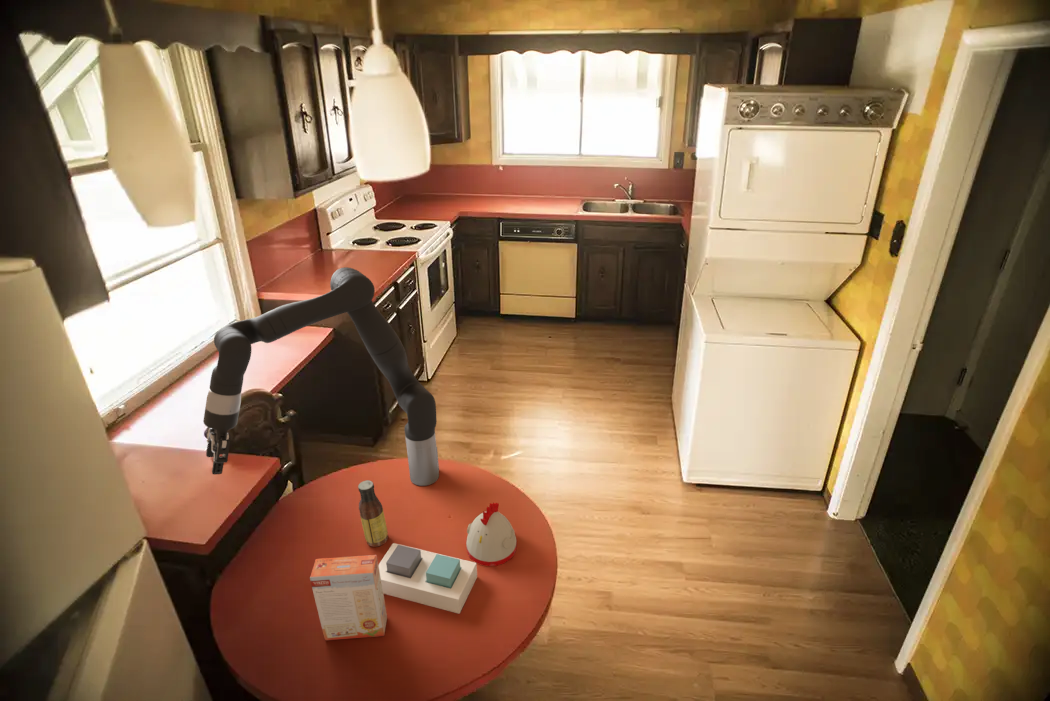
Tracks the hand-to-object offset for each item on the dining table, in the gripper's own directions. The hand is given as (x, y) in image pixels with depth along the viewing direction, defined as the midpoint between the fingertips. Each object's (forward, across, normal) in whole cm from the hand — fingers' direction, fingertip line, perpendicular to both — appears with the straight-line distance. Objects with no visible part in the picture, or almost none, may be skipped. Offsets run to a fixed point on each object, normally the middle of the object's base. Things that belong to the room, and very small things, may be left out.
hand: (213, 464), depth 150 cm
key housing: (+16, -38, -46) cm, 62 cm away
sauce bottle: (+18, -16, -41) cm, 48 cm away
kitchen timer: (+9, -37, -65) cm, 76 cm away
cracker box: (+23, -41, -28) cm, 54 cm away
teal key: (+11, -42, -48) cm, 65 cm away
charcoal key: (+14, -34, -41) cm, 55 cm away
